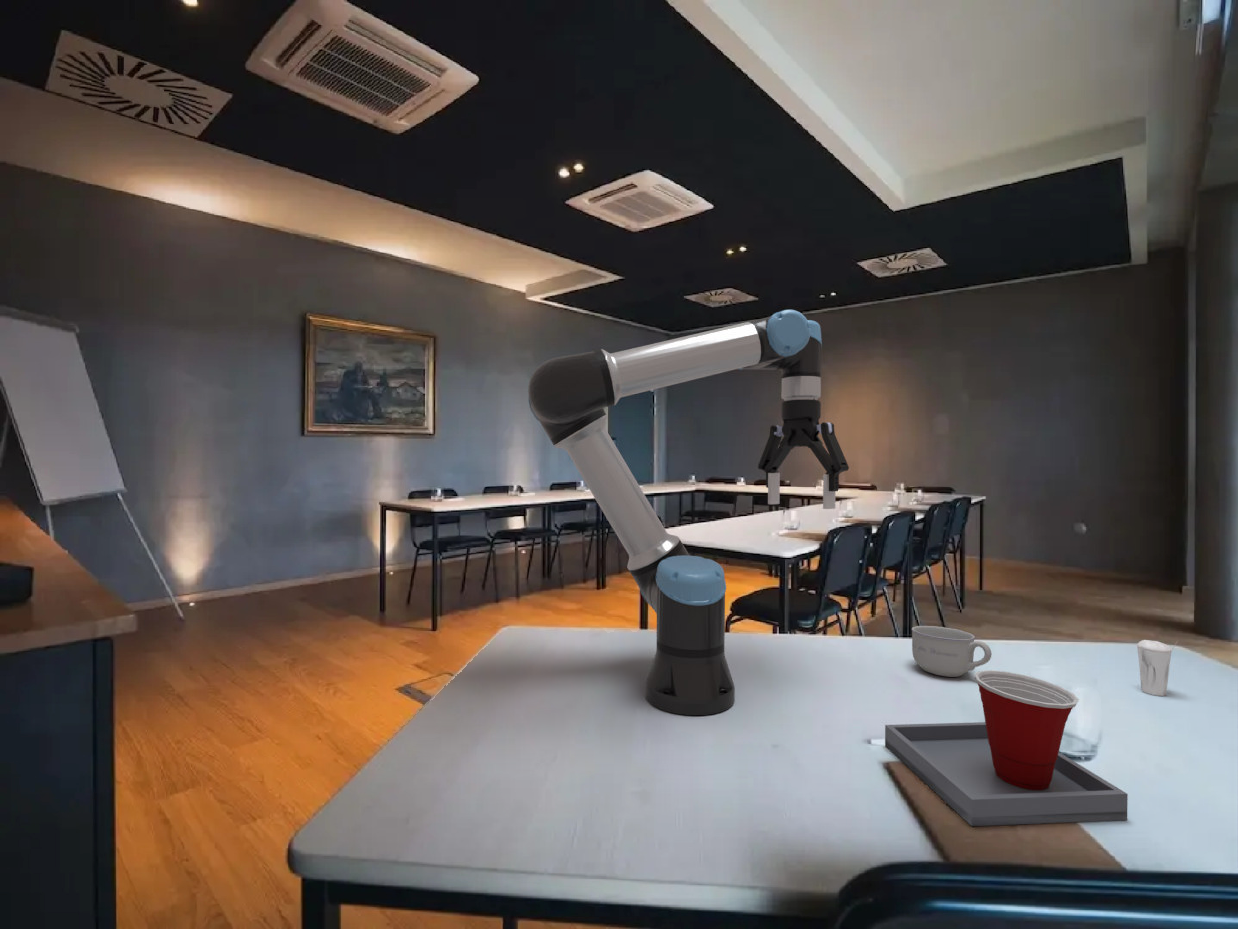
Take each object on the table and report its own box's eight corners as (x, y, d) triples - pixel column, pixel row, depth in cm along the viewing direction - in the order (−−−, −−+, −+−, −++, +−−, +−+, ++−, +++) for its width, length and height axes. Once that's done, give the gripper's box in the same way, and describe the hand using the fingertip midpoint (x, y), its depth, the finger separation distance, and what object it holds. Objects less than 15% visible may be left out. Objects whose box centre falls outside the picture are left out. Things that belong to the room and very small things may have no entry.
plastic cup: (1098, 808, 68) (1099, 704, 68) (995, 797, 70) (995, 696, 70) (1049, 761, 78) (1050, 671, 78) (960, 753, 80) (961, 665, 80)
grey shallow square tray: (971, 826, 66) (971, 799, 66) (885, 745, 84) (885, 725, 84) (1127, 820, 67) (1127, 794, 67) (1008, 742, 86) (1008, 721, 86)
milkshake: (1175, 701, 101) (1176, 643, 101) (1134, 692, 105) (1135, 636, 105) (1179, 694, 104) (1179, 638, 104) (1138, 685, 108) (1139, 631, 108)
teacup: (899, 666, 117) (899, 626, 117) (937, 659, 122) (937, 621, 121) (964, 692, 104) (964, 647, 104) (1004, 683, 109) (1005, 640, 109)
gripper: (868, 395, 109) (867, 510, 110) (766, 405, 130) (765, 501, 130) (844, 393, 105) (843, 511, 105) (741, 403, 126) (741, 503, 126)
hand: (800, 506), depth 118 cm, fingers open, 13 cm apart
